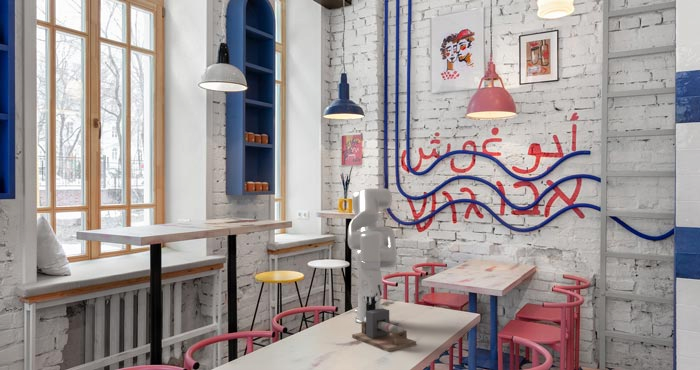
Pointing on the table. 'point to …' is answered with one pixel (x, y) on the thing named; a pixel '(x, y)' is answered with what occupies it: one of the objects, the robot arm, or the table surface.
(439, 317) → the table surface
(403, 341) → the pipe rig
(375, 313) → the collar
